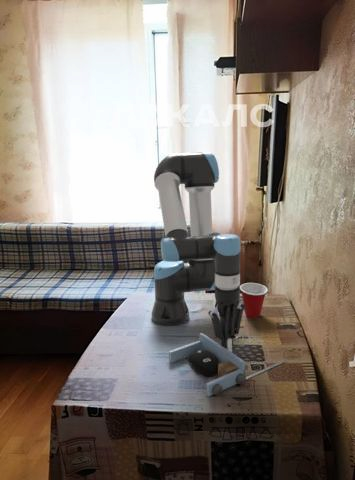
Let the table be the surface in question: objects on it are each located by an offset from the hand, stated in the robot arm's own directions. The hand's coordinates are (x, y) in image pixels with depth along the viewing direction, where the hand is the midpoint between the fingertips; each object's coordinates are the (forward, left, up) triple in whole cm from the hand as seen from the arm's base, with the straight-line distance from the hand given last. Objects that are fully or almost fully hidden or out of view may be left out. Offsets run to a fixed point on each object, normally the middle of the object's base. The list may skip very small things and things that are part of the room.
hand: (227, 356), depth 116 cm
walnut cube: (+7, -5, -2) cm, 9 cm away
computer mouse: (-2, -7, -2) cm, 8 cm away
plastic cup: (-20, +30, -2) cm, 36 cm away
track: (0, 0, -2) cm, 2 cm away
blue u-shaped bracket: (0, -8, -2) cm, 8 cm away
